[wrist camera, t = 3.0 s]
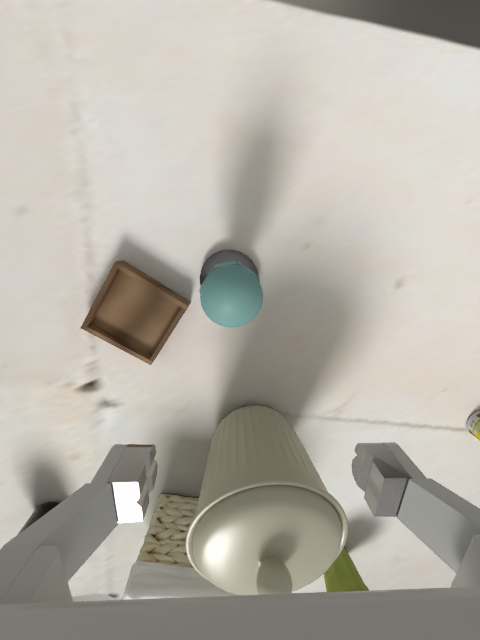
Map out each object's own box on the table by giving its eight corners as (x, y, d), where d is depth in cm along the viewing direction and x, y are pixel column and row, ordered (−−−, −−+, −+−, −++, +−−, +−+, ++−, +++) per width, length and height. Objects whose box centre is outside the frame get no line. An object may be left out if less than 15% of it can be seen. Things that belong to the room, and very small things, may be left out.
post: (189, 287, 34) (174, 307, 23) (220, 237, 32) (219, 234, 21) (236, 317, 35) (242, 347, 25) (268, 271, 34) (288, 284, 23)
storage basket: (140, 541, 49) (107, 661, 35) (153, 483, 44) (121, 594, 30) (252, 553, 52) (263, 667, 38) (275, 500, 48) (296, 607, 34)
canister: (322, 411, 42) (413, 567, 22) (269, 482, 46) (303, 667, 26) (231, 370, 38) (238, 510, 18) (182, 450, 42) (145, 636, 22)
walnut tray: (90, 322, 34) (80, 327, 32) (123, 260, 32) (115, 261, 30) (155, 357, 37) (151, 365, 34) (190, 302, 34) (188, 306, 32)
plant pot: (310, 543, 52) (326, 599, 44) (353, 534, 52) (377, 589, 44) (313, 569, 55) (329, 626, 47) (353, 561, 55) (376, 617, 47)
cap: (194, 295, 27) (188, 306, 22) (222, 251, 26) (222, 252, 21) (237, 322, 28) (240, 337, 24) (266, 281, 27) (275, 289, 22)
